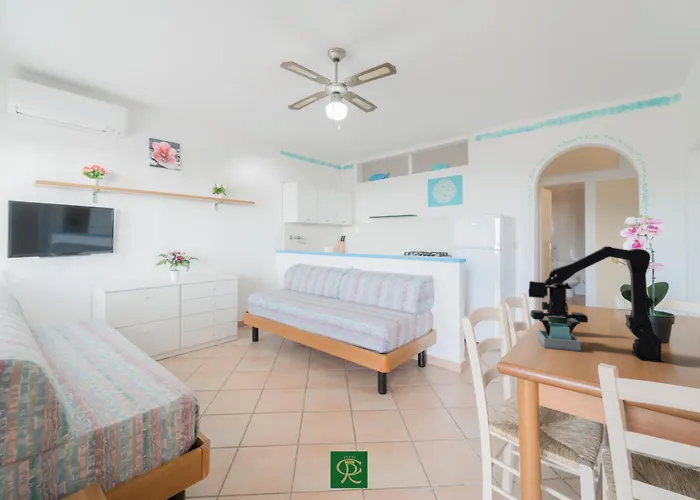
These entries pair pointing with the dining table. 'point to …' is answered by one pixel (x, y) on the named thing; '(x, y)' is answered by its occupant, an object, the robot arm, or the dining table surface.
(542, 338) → the big crate
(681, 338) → the dining table surface
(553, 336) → the small crate
